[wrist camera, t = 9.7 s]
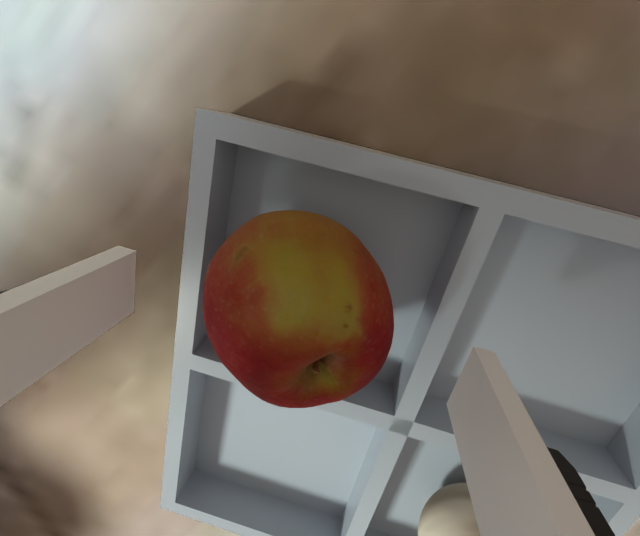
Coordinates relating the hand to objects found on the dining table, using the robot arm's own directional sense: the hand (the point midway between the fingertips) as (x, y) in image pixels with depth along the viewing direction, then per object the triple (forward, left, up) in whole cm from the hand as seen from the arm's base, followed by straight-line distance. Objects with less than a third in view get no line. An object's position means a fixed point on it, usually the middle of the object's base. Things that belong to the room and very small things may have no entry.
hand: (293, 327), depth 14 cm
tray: (+6, -6, -7) cm, 11 cm away
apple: (0, 0, -6) cm, 6 cm away
